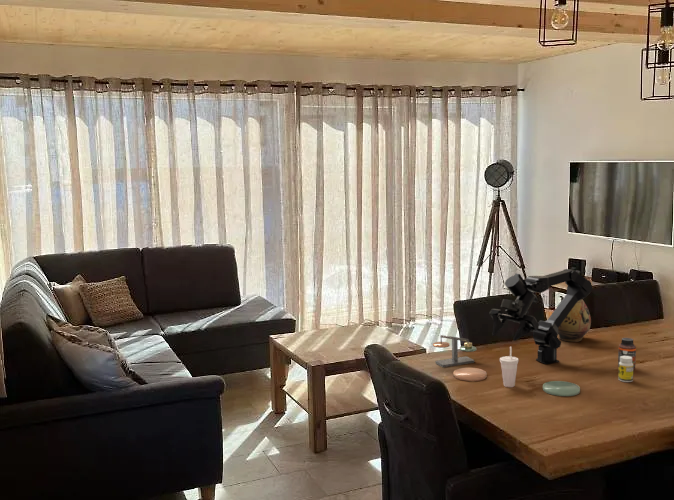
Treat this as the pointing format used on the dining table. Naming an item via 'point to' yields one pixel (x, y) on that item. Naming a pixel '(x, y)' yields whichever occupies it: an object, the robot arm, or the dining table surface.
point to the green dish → (561, 388)
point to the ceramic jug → (575, 323)
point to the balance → (455, 352)
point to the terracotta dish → (470, 374)
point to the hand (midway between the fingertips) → (503, 337)
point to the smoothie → (509, 369)
